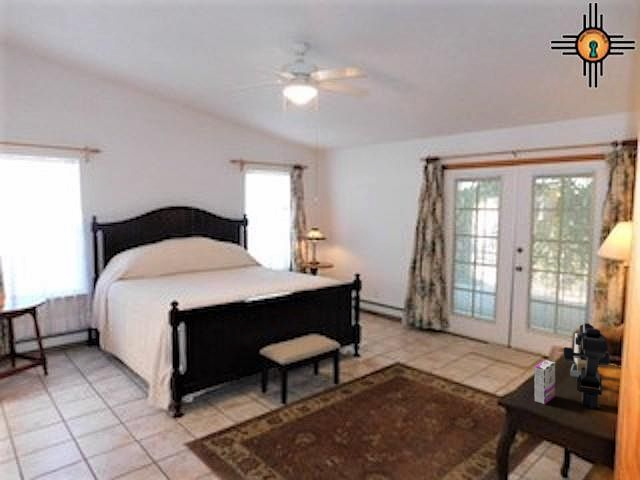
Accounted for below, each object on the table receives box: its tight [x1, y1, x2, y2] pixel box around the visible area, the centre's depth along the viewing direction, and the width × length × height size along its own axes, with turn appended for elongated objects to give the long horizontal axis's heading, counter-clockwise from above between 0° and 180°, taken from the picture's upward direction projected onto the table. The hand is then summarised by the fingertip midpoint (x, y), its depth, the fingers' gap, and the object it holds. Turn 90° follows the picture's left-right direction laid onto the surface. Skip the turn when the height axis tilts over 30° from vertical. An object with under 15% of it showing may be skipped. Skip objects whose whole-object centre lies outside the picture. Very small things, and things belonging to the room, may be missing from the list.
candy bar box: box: [533, 359, 556, 405], centre depth 193 cm, size 11×5×16 cm, turn 129°
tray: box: [569, 363, 581, 378], centre depth 218 cm, size 10×10×3 cm
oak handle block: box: [577, 347, 586, 372], centre depth 217 cm, size 5×5×13 cm
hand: (584, 363), depth 211 cm, fingers open, 9 cm apart
